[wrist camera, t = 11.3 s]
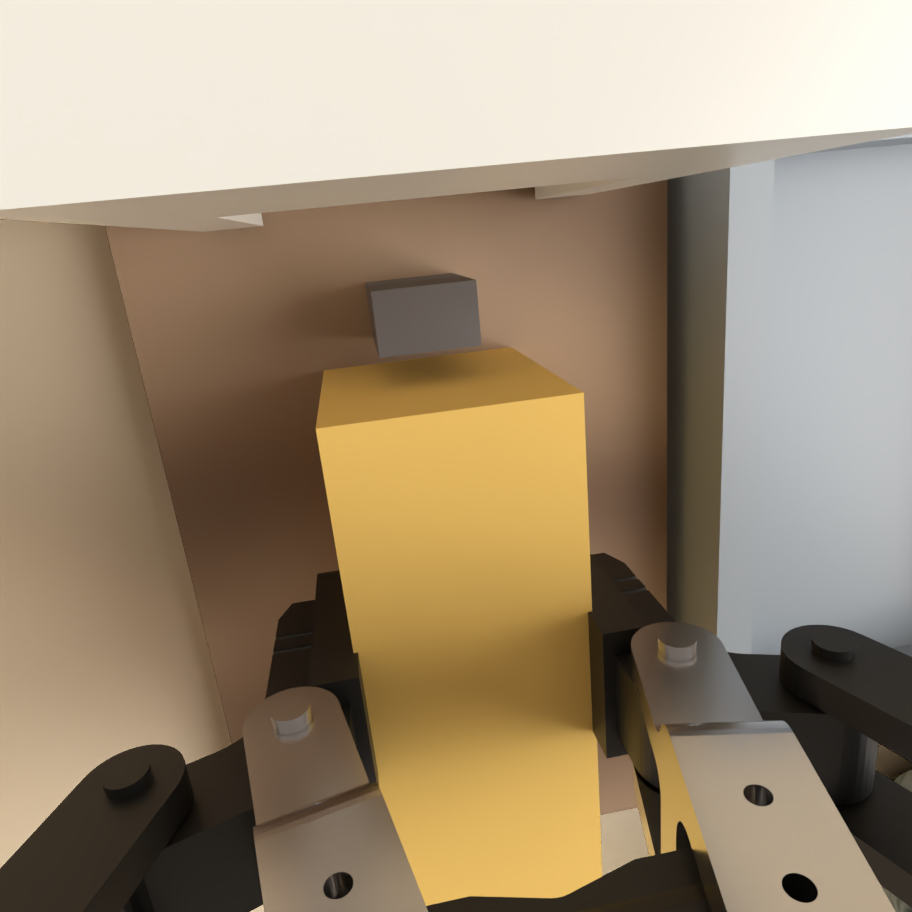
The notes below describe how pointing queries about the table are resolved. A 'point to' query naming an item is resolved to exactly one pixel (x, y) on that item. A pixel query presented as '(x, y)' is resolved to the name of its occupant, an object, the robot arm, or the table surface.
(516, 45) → the white stepped block
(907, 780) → the streaked grey-blue ovoid
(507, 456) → the yellow rectangular block
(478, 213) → the clamp board
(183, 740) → the table surface
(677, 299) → the tray
